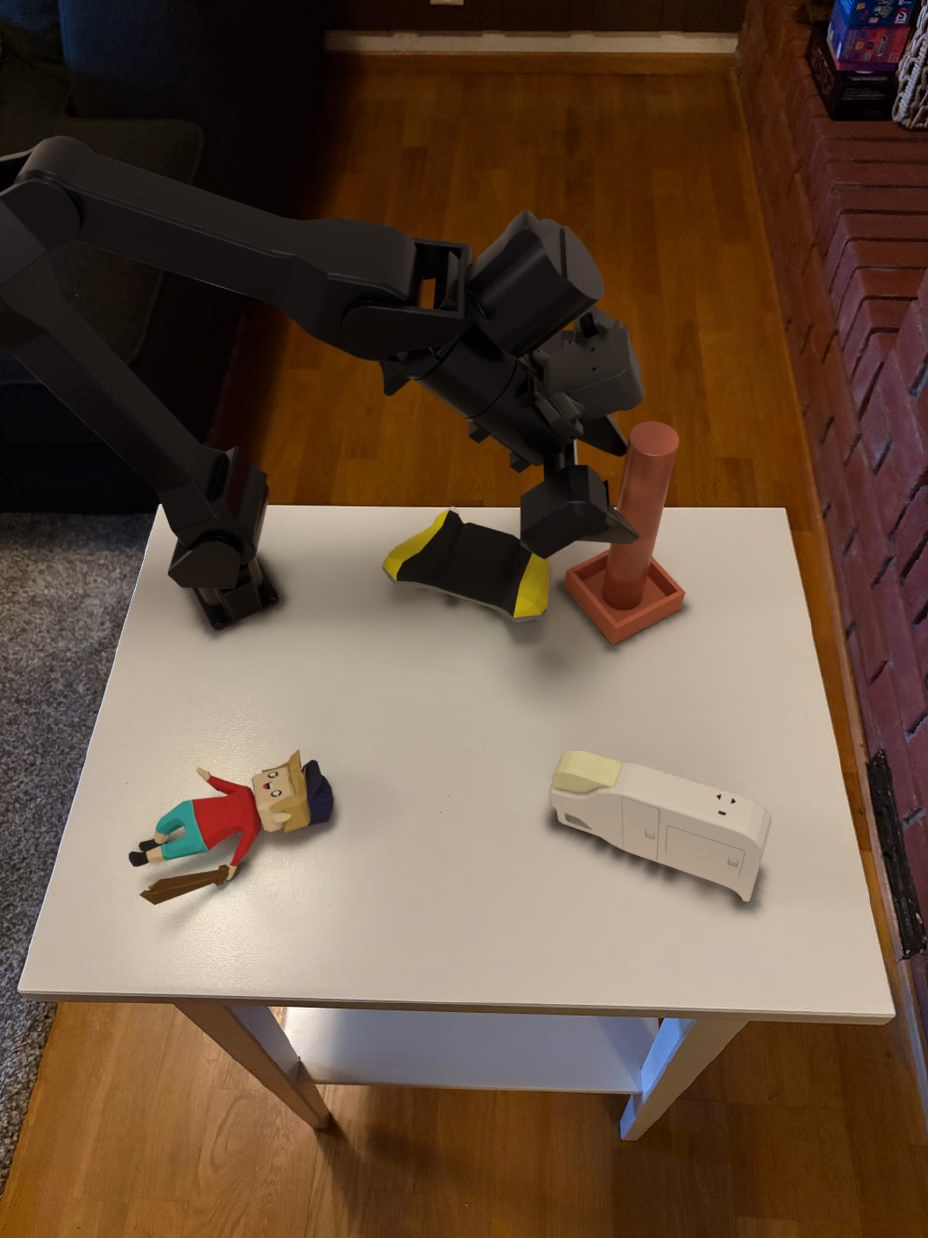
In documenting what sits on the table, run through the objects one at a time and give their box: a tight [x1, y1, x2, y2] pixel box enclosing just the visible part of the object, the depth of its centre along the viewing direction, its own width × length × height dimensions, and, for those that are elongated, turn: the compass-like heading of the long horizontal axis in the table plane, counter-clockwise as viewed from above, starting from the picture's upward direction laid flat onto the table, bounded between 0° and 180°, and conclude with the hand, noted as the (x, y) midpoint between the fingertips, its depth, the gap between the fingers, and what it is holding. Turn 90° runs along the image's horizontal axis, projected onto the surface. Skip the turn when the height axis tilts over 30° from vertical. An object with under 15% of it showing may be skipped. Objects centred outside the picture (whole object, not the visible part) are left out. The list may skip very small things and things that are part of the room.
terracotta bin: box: [564, 548, 686, 646], centre depth 78 cm, size 8×8×2 cm
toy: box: [128, 748, 334, 906], centre depth 64 cm, size 9×6×15 cm
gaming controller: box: [382, 505, 550, 624], centre depth 78 cm, size 15×6×10 cm
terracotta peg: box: [602, 420, 680, 610], centre depth 71 cm, size 4×4×19 cm
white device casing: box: [548, 750, 772, 903], centre depth 62 cm, size 11×3×15 cm
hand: (629, 494), depth 68 cm, fingers open, 9 cm apart
